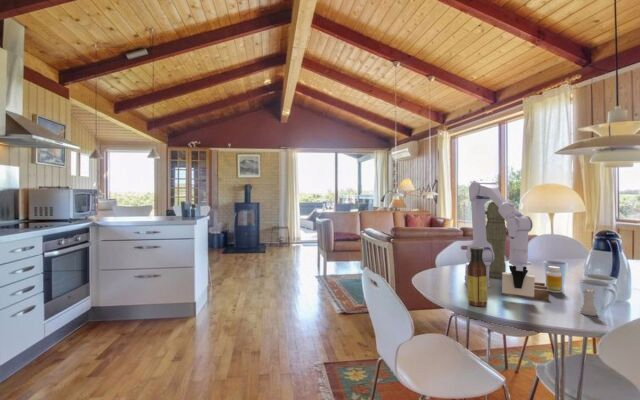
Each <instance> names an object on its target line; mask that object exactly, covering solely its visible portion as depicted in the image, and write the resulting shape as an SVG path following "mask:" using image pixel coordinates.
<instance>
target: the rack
mask: <svg viewBox="0 0 640 400" xmlns="http://www.w3.org/2000/svg"><path fill="white" fill-rule="evenodd" d="M502 295H505V296H512V297H513V296H515V297H519V298H520V297H521V298H528V299H529V298H530V299H536V300H545V301H549V300H550V291H549V290H547V286H546V282H536V281H535V283H534V297H531V296H523V295H515V294H507V293H502Z"/></svg>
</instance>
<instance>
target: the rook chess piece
mask: <svg viewBox="0 0 640 400" xmlns="http://www.w3.org/2000/svg"><path fill="white" fill-rule="evenodd" d="M582 292H583V294H584V295H583V297H584V298H583V299H584V300H583V304H582V306H580V313H581V314H582V315H585V316H590V317H596V316H597V315H598V310H597V308H596V306H595V300H594V299H595V295H596V292H595V290H594V289H592V288H584V289H583V290H582Z"/></svg>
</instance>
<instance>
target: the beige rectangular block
mask: <svg viewBox="0 0 640 400" xmlns="http://www.w3.org/2000/svg"><path fill="white" fill-rule="evenodd" d="M535 278H536V277H535V275H534V274H526V275H525V278H524V281H523V285H522V288H521V289H519V288H515V287H514V282H513V276H512V273H511V272H502V279H501V293H502V294H503V293H507V294H515V295H523V296H531V297H534V283H535V282H536V281H535Z"/></svg>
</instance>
